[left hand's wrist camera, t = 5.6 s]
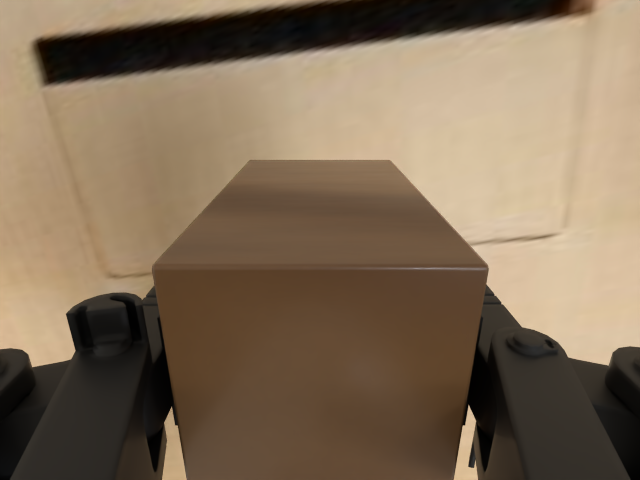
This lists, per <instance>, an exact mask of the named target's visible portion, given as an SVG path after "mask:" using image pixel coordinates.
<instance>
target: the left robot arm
mask: <svg viewBox="0 0 640 480" xmlns="http://www.w3.org/2000/svg"><path fill="white" fill-rule="evenodd" d="M66 316H67V319H68V323H69V327H70V331H71V335H72V338H73V342H74V346H75V350H76V351H75V353H74V355H73V357H72V359H71V360H68V361H64V362H58V363H53V364H48V365H43V366H38V367H32V365H31V362H30V359H29V356H28V354H27V353H25V352H24V351H23V350H19V349H12V348H9V349H0V480H162V475H163V467H164V459H165V451H166V443H167V438H166V431H165V426H164V422H165V420H166V417H167V415H168V413H169V411H170V409H171V407H172V409H173V415H174V421H175V425H178V423H177V417H176V411H175V405H174V399H173V393H172V387H171V381H170V375H169V369H168V363H167V357H166V351H165V345H164V339H163V333H162V327H161V321H160V315H159V309H158V303H157V296H156V290H155V285H154V287H153V288H152V289H151V290H150V292H149V293H148V294H147V295H146V298H144V299H143V300H142V299H141V298H139V297H138V296H137V295H135V294H130V293H110V294H104V295H99V296H96V297H93V298H90V299H87V300H84V301H83V302H81V303H79V304H77V305H75V306H74V307H72V308H71V309H70V310H69V311H68V312H67V313H66ZM468 405H469V406H470V408H471V410H472V413H473V415H474V417H475V419H476V425H475V431H474V437H473V442H472V448H471V453H470V459H469V465H468V467H471V468H474V464H475V459H476V466H477V474H478V480H640V347H623V348H618V349H617V350H616V351H614V352H613V354H612V357H611V360H610V363H609V366H607V365H602V364H597V363H591V362H586V361H581V360H576V359H572V358H568V357H567V355H566V353H565V351H564V349H563V348H562V347H561V346H560V345H559V343H558V342H556V341H555V340H553V339H552V338H550V337H549V336H547V335H545V334H542V333H540V332H537V331H535V330H531V329H527V328H522V327H521V326H520V324H519V323H518V322H517V321H516V320H515V318H514V317H513V316H512V315H511V314H510V312H509V311H508V310H507V309H506V308H505V306H504V305H501V302H500V300H499V299H498V298H497V297H496V296H494V293H493V292H492V291H491V290H490V288H489V287H488V286H487V285H486V288H485V294H484V300H483V306H482V312H481V318H480V324H479V330H478V336H477V342H476V348H475V354H474V360H473V366H472V372H471V378H470V384H469V390H468V396H467V402H466V408H465V414H464V420H463V425H465V422H466V416H467V411H468Z"/></svg>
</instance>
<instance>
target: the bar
mask: <svg viewBox="0 0 640 480" xmlns="http://www.w3.org/2000/svg"><path fill="white" fill-rule="evenodd" d="M488 270H489V268H488V265H487V264H486V263H485V262H484V260H483V259H482V258H481V257H480V256H479V255H478V254H477V253H476V252H475V251H474V250H473V249H472V248H471V246H470V245H469V244H468V243H467V242H466V241H465V240H464V239H463V238H462V237H461V236H460V235H459V234H458V232H457V231H456V230H455V229H454V228H453V227H452V226H451V225H450V224H449V223H448V222H447V221H446V220H445V218H444V217H443V216H442V215H441V214H440V213H439V212H438V211H437V210H436V209H435V208H434V207H433V206H432V205H431V203H430V202H429V201H428V200H427V199H426V198H425V197H424V196H423V195H422V194H421V193H420V192H419V191H418V189H417V188H416V187H415V186H414V185H413V184H412V183H411V182H410V181H409V180H408V179H407V178H406V177H405V175H404V174H403V173H402V172H401V171H400V170H399V169H398V168H397V167H396V166H395V165H394V164H393V163H392V161H390V160H250V161H249V162H248V163H247V164H246V165H245V166H244V167H243V168H242V169H241V170H240V171H239V172H238V174H237V175H236V176H235V177H234V178H233V179H232V180H231V181H230V182H229V183H228V184H227V185H226V187H225V188H224V189H223V190H222V191H221V192H220V193H219V194H218V195H217V196H216V197H215V198H214V200H213V201H212V202H211V203H210V204H209V205H208V206H207V207H206V208H205V209H204V210H203V211H202V212H201V214H200V215H199V216H198V217H197V218H196V219H195V220H194V221H193V222H192V223H191V224H190V225H189V227H188V228H187V229H186V230H185V231H184V232H183V233H182V234H181V235H180V236H179V237H178V238H177V239H176V241H175V242H174V243H173V244H172V245H171V246H170V247H169V248H168V249H167V250H166V251H165V252H164V254H163V255H162V256H161V257H160V258H159V259H158V260H157V261H156V262H155V263H154V264H153V267H152V272H153V278H154V284H155V290H156V296H157V303H158V309H159V315H160V321H161V327H162V333H163V339H164V345H165V351H166V357H167V363H168V369H169V375H170V381H171V387H172V393H173V399H174V405H175V411H176V417H177V423H178V429H179V435H180V441H181V447H182V453H183V459H184V465H185V471H186V477H187V480H454V474H455V468H456V462H457V456H458V450H459V444H460V438H461V432H462V426H463V420H464V414H465V408H466V402H467V396H468V390H469V384H470V378H471V372H472V366H473V360H474V354H475V348H476V342H477V336H478V330H479V324H480V318H481V312H482V306H483V300H484V294H485V288H486V282H487V276H488Z"/></svg>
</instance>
